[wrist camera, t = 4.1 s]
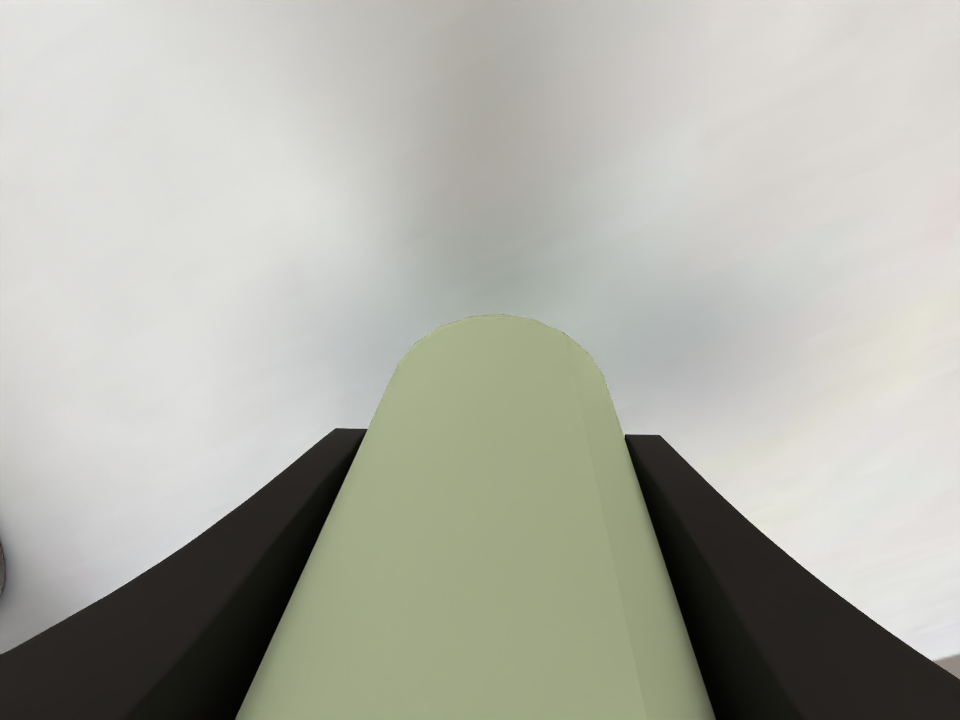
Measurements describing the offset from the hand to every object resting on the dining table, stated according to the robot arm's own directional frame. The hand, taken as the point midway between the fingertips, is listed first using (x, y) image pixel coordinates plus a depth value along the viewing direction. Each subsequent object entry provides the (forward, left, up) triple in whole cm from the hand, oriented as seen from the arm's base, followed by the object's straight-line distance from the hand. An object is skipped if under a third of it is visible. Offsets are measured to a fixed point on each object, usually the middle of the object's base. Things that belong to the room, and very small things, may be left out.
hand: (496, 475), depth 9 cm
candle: (0, 0, -2) cm, 2 cm away
